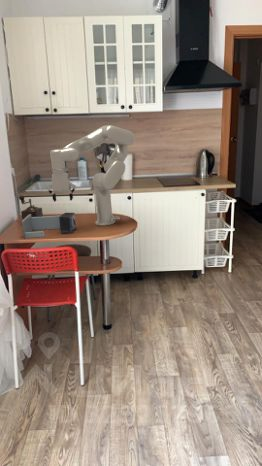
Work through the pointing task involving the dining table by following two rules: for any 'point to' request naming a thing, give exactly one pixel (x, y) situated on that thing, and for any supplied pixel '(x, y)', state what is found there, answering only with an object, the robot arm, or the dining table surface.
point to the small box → (67, 223)
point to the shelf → (39, 225)
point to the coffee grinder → (30, 209)
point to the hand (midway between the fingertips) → (63, 200)
